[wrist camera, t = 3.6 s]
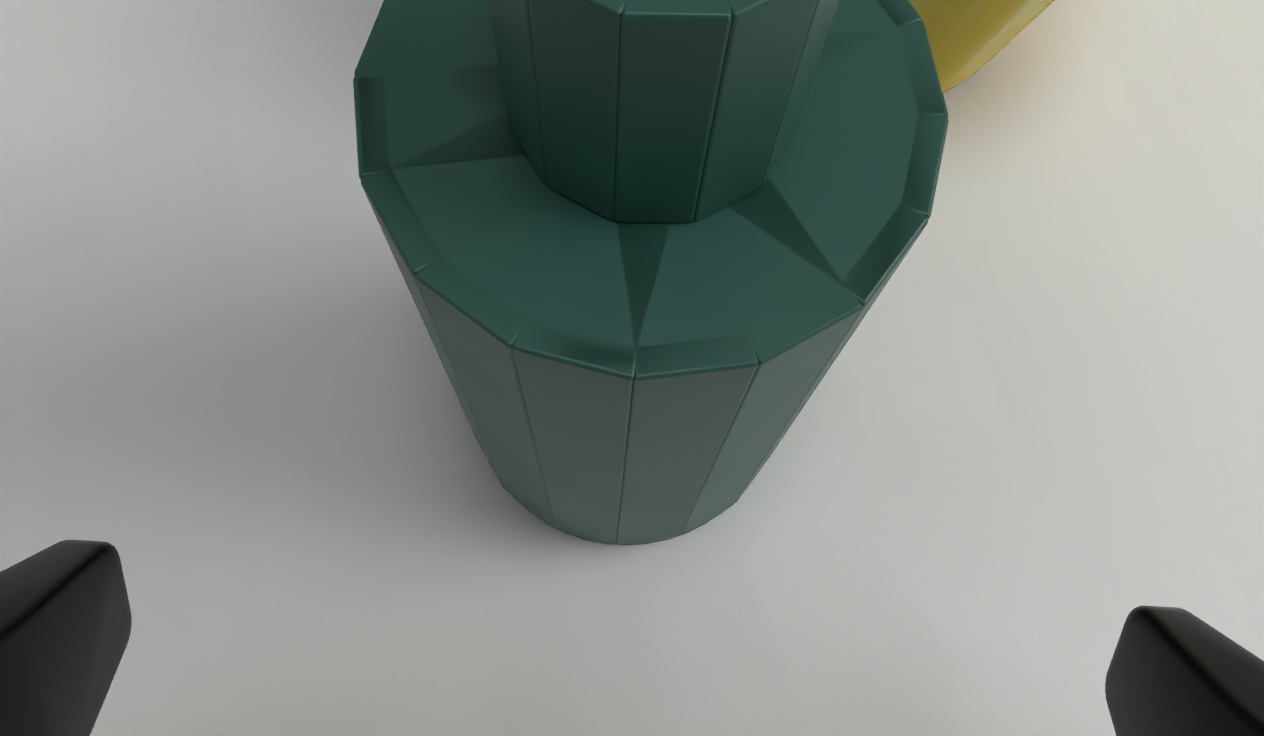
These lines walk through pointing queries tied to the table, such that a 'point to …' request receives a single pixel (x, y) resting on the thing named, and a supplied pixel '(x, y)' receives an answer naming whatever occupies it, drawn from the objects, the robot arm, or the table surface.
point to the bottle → (644, 226)
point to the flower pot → (972, 32)
